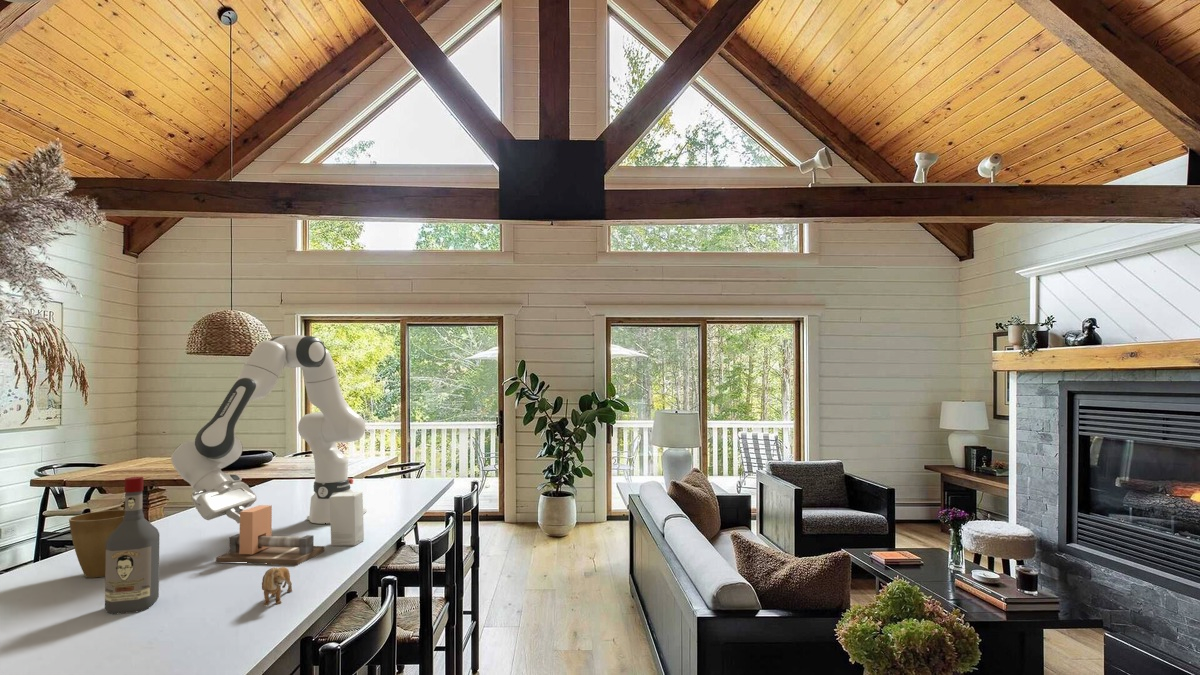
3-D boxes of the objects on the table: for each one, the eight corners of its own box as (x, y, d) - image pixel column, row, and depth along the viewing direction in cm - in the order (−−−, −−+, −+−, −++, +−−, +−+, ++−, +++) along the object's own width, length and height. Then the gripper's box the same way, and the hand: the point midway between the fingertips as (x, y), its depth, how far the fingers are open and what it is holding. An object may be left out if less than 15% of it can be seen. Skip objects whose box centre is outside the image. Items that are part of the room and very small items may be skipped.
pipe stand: (247, 549, 205) (247, 529, 205) (324, 551, 201) (324, 531, 202) (215, 562, 191) (216, 541, 191) (297, 565, 188) (297, 543, 188)
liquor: (117, 602, 160) (119, 476, 161) (161, 598, 162) (163, 473, 163) (100, 616, 151) (103, 482, 152) (147, 611, 153) (149, 480, 155)
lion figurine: (284, 608, 154) (284, 569, 155) (258, 611, 153) (258, 571, 153) (294, 588, 168) (294, 552, 169) (270, 590, 167) (271, 554, 167)
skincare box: (364, 540, 213) (364, 491, 214) (354, 546, 206) (354, 495, 207) (339, 540, 214) (339, 491, 214) (328, 546, 207) (329, 495, 208)
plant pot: (142, 572, 182) (143, 513, 183) (73, 586, 171) (74, 523, 172) (128, 562, 192) (129, 506, 193) (63, 574, 182) (64, 515, 182)
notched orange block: (259, 545, 202) (259, 505, 202) (271, 545, 201) (271, 505, 202) (239, 554, 193) (239, 511, 193) (252, 554, 192) (252, 512, 193)
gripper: (195, 486, 189) (226, 521, 187) (242, 474, 209) (271, 506, 207) (180, 501, 189) (212, 537, 188) (229, 488, 210) (258, 520, 208)
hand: (243, 520), depth 198 cm, fingers closed
